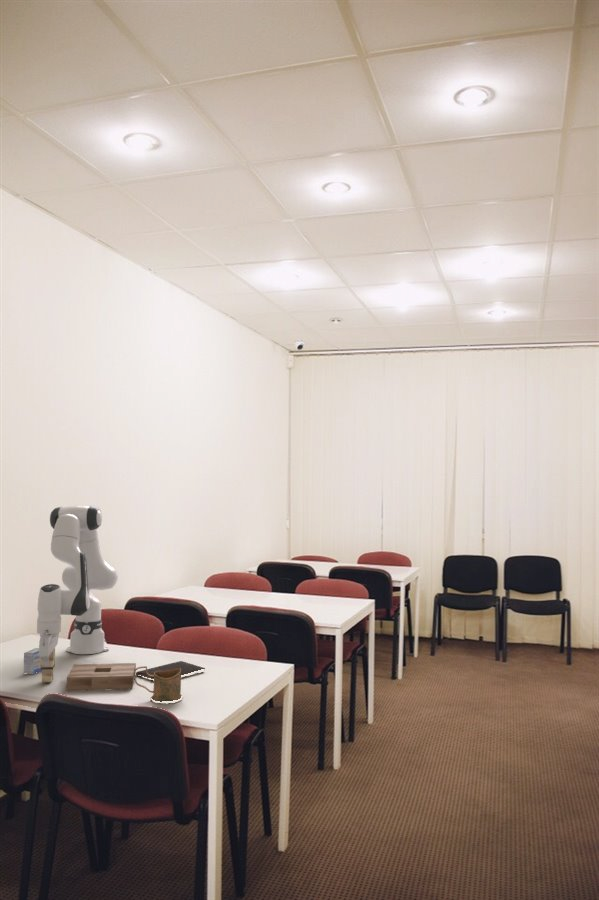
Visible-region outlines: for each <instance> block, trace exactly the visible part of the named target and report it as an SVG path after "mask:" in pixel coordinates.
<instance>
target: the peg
mask: <svg viewBox="0 0 599 900" xmlns="http://www.w3.org/2000/svg"><path fill="white" fill-rule="evenodd" d="M55 666H56V647H55V648H54V649H53V650H52V653H51V654H50V656H49V665H48V666H44V661H43V658H41V668H40V670H42V671H41V683H52V682H53V680H54V668H55Z"/></svg>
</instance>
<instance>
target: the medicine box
mask: <svg viewBox="0 0 599 900" xmlns="http://www.w3.org/2000/svg"><path fill="white" fill-rule="evenodd" d="M40 668H41V658H39V647H34V648H33V649H31V650H28V651H26V652H24V653H23V672H22V673H23V674H24V673H27V674H26V675H31V674H33V675H35V674H34V673H36V672H38V673H39V672H42V671H41V670H40ZM36 674H37V673H36Z"/></svg>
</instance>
